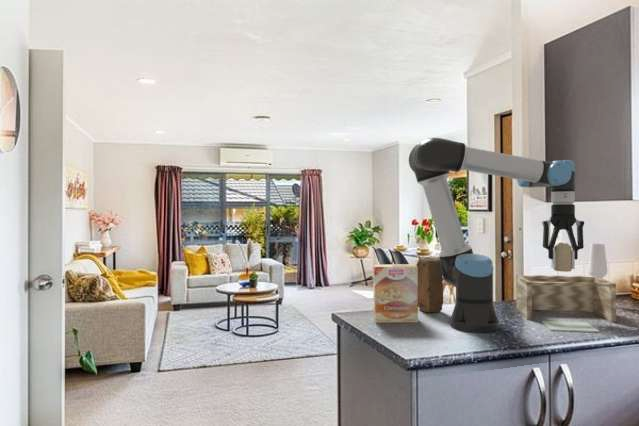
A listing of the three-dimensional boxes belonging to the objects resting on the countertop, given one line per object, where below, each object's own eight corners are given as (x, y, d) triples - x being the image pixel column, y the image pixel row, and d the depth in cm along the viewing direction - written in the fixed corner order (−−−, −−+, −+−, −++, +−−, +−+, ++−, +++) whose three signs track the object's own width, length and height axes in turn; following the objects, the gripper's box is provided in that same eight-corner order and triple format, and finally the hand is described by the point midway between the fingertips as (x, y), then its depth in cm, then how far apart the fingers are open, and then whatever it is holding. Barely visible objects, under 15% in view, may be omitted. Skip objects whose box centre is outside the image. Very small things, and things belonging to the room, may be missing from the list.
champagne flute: (585, 304, 189) (585, 244, 188) (591, 301, 193) (590, 243, 193) (604, 306, 184) (604, 244, 184) (609, 303, 189) (609, 243, 188)
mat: (550, 330, 150) (550, 329, 150) (541, 322, 161) (541, 320, 161) (599, 332, 147) (599, 330, 147) (587, 323, 158) (587, 322, 158)
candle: (551, 269, 173) (551, 242, 172) (566, 269, 172) (566, 242, 172) (558, 271, 167) (558, 243, 167) (574, 271, 167) (574, 243, 167)
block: (445, 312, 176) (444, 259, 176) (427, 314, 174) (425, 260, 174) (431, 307, 187) (429, 256, 187) (413, 308, 185) (412, 257, 185)
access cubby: (527, 319, 165) (526, 282, 165) (516, 308, 183) (516, 274, 182) (615, 322, 159) (615, 283, 159) (596, 310, 177) (596, 276, 177)
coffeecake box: (375, 323, 163) (374, 266, 163) (373, 318, 170) (372, 264, 170) (418, 322, 163) (418, 266, 162) (415, 317, 170) (414, 263, 169)
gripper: (537, 203, 168) (537, 269, 168) (595, 203, 164) (595, 270, 164) (532, 203, 175) (532, 266, 175) (587, 203, 171) (587, 267, 172)
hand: (562, 268), depth 170 cm, fingers closed on candle, 5 cm apart
